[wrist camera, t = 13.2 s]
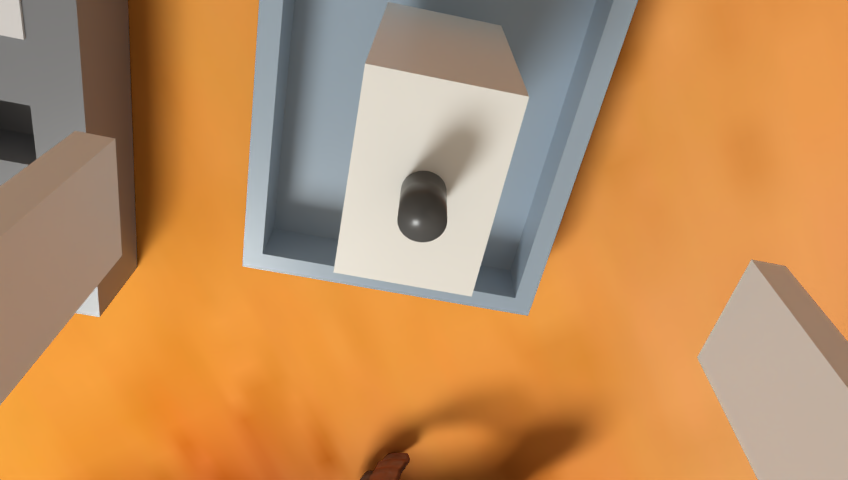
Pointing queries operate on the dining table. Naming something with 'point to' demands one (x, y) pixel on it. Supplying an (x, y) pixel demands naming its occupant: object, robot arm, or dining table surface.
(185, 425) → the dining table surface
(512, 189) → the tray
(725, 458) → the dining table surface
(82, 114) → the power strip
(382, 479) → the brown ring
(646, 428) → the dining table surface
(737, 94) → the dining table surface
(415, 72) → the charger
